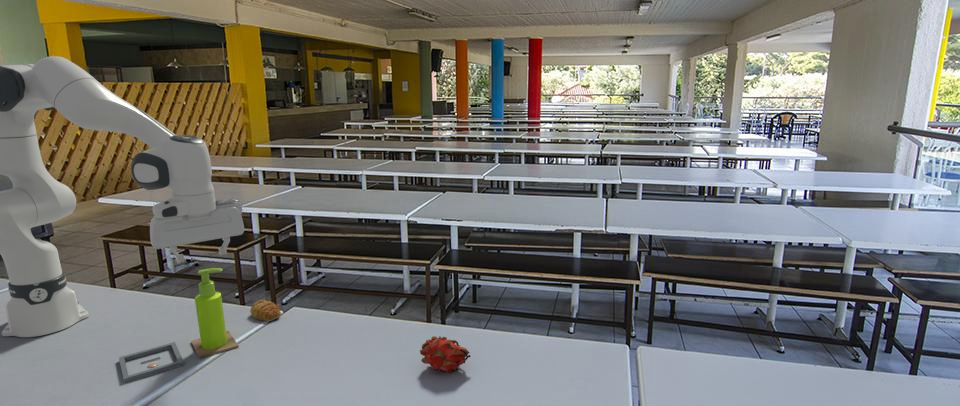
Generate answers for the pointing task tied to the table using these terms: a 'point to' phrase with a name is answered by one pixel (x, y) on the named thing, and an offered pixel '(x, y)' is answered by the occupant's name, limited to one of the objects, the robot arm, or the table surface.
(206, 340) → the soap dispenser
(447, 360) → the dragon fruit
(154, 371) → the slate frame
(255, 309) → the pastry
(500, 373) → the table surface
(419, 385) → the table surface
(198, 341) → the walnut pad
